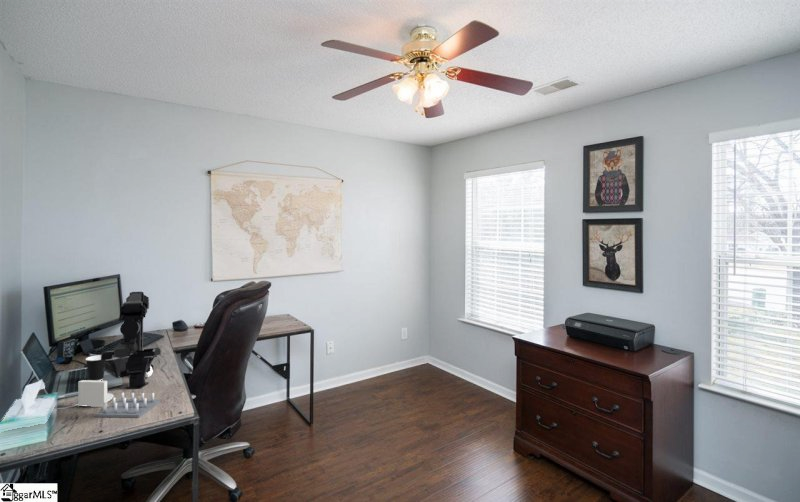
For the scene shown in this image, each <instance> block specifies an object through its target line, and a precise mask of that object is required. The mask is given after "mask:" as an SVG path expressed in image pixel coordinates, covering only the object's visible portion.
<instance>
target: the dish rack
mask: <svg viewBox="0 0 800 502" xmlns="http://www.w3.org/2000/svg"><path fill="white" fill-rule="evenodd" d="M130 394H131V395H130V397H131V399H130V398H128V399H127V397H125V392H121V393H120V399H119V400H116V396H115V397H112V400H111V401H112V404H110V405H109V406H106V402H105V403H103V407H102V410H100V411H99V412H97V413H95V418H132V419H134V418H135V419H137V418H138V419H139V418H141V417H142V416H143V415H145V414H147V413H148V412H149V411H151V410H152V409H153V408H154V407H156V406H157V405H160V403H161V401H162V400H161V399H155V392H151V393H150V396H151V398H150V399H147V397H145V392H141V393H140V395H141V396H140V399H137V397H135V392H131V393H130Z"/></svg>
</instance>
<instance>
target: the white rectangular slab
mask: <svg viewBox="0 0 800 502" xmlns="http://www.w3.org/2000/svg"><path fill="white" fill-rule="evenodd" d="M77 384H78V385H77V387H78V391H77V392H78V393H77V394H78V395H77V397H78V398H77V399H78V402H77V404H78V405H77V407H79V406H81V405H87V406H91V407H90V408H103V403H105V402H106V407H108V380H102V381H98V380H89V379H87V380H86V379H85V380H84V379H81V380H79V381H78V382H77ZM79 408H80V407H79Z"/></svg>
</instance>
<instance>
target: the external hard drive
mask: <svg viewBox="0 0 800 502" xmlns="http://www.w3.org/2000/svg"><path fill="white" fill-rule="evenodd" d="M128 357H129V356H127V357H120V358H121V365H120V375H119V376H120V377H119V378H123V377H124V378H125V377H130V374H129V375H126V361H128ZM150 365H151V367H152V369H153V370H154V364H152V363H151V364H150ZM105 369H107V370H108V371H110V372H111V371H112V372H111V373H113V372H114V370H113V368H112V366H111V365H110V364H109V363H108V362H106V363H105Z"/></svg>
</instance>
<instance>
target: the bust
mask: <svg viewBox="0 0 800 502" xmlns="http://www.w3.org/2000/svg"><path fill="white" fill-rule="evenodd" d="M153 373H154V368H153V369H152V367H151V365H150V371H149V372H148V373H147V372H146V374H145V378H149V377H151V376H152V374H153Z"/></svg>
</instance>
